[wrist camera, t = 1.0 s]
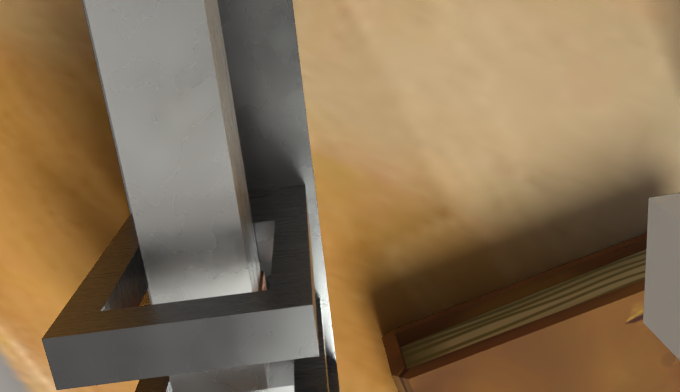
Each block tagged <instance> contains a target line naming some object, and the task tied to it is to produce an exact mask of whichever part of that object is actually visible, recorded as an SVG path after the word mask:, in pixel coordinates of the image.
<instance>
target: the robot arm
mask: <svg viewBox="0 0 680 392" xmlns="http://www.w3.org/2000/svg"><path fill="white" fill-rule="evenodd" d="M643 323H644V324H645V325H646V326H647V327H648V328H649V329H650V330H651V331H652V332H653V333H654V334H655V335H656V336H657V337H658V338H659V339H660V341H661V342H662V343H663V344H664V345H665V346H666V347H667V348H668V349H669V350H670V351H671V352H672V353H673V354H674V355H675V356H676V357H677V358H678V359H679V360H680V193H677V194H670V195H663V196H657V197H650V198H649V204H648V226H647V248H646V270H645V292H644V314H643Z"/></svg>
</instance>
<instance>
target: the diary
mask: <svg viewBox="0 0 680 392" xmlns="http://www.w3.org/2000/svg"><path fill="white" fill-rule="evenodd" d="M646 248H647V233H645V234H643V235H640V236H638V237H635V238H632V239H630V240H627V241H625V242H622V243H619V244H617V245H614V246H611V247H609V248H606V249H604V250H601V251H598V252H596V253H593V254H590V255H588V256H585V257H583V258H580V259H577V260H575V261H572V262H570V263H567V264H564V265H562V266H559V267H556V268H554V269H551V270H549V271H546V272H543V273H541V274H538V275H535V276H533V277H530V278H528V279H525V280H522V281H520V282H517V283H515V284H512V285H509V286H507V287H504V288H501V289H499V290H496V291H494V292H491V293H488V294H486V295H483V296H480V297H478V298H475V299H473V300H470V301H467V302H465V303H462V304H459V305H457V306H454V307H452V308H449V309H446V310H444V311H441V312H439V313H436V314H433V315H431V316H428V317H425V318H423V319H420V320H418V321H415V322H412V323H410V324H407V325H404V326H402V327H399V328H397V329H394V330H391V331H389V332H387V333H386V335H385V336H384V337H383V338H382V339H383V343H384V347H385V351H386V354H387V358H388V362H389V366H390V370H391V374H392V377H393V379H394V381H395V384H396V386H397V388H398V391H399V392H680V360H679V359H678V358H677V357H676V356H675V355H674V354H673V353H672V352H671V351H670V350H669V349H668V348H667V347H666V346H665V345H664V344H663V343H662V342H661V341H660V339H659V338H658V337H657V336H656V335H655V334H654V333H653V332H652V331H651V330H650V329H649V328H648V327H647V326H646V325H645V324H644V323H643V314H644V292H645V270H646Z"/></svg>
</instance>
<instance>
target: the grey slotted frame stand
mask: <svg viewBox="0 0 680 392" xmlns="http://www.w3.org/2000/svg"><path fill="white" fill-rule="evenodd" d="M82 2H83V7H84V11H85V16H86V20H87V24H88V29H89V33H90V38H91V42H92V47H93V51H94V55H95V60H96V64H97V69H98V73H99V77H100V82H101V86H102V91H103V95H104V100H105V104H106V108H107V113H108V117H109V122H110V126H111V130H112V135H113V139H114V144H115V148H116V153H117V157H118V161H119V166H120V170H121V175H122V179H123V183H124V188H125V192H126V197H127V201H128V206H129V210H130V214H131V215H130V216H129V218H128V219H127V220H126V222H125V223H124V225H123V226H122V227H121V229H120V230H119V232H118V233H117V234H116V236H115V237H114V239H113V240H112V241H111V243H110V244H109V246H108V247H107V248H106V250H105V251H104V253H103V254H102V255H101V257H100V258H99V260H98V261H97V262H96V264H95V265H94V267H93V268H92V269H91V271H90V272H89V274H88V275H87V276H86V278H85V279H84V281H83V282H82V283H81V285H80V286H79V288H78V289H77V290H76V292H75V293H74V295H73V296H72V297H71V299H70V300H69V302H68V303H67V304H66V306H65V307H64V309H63V310H62V311H61V313H60V314H59V316H58V317H57V318H56V320H55V321H54V323H53V324H52V325H51V327H50V328H49V330H48V331H47V332H46V334H45V335H44V337H43V338H42V342H43V345H44V349H45V352H46V356H47V359H48V362H49V366H50V369H51V372H52V376H53V379H54V383H55V386H56V389H57V390H62V389H69V388H77V387H85V386H93V385H100V384H108V383H116V382H123V381H131V380H139V379H140V380H139V383H138V385H137V388H136V391H135V392H172V387H171V383H170V379H169V376H170V375H177V374H185V373H193V372H200V371H208V370H216V369H223V368H231V367H239V366H247V365H254V364H262V363H270V367H269V383H268V389H264V390H256V391H249V392H340V388H339V379H338V371H337V363H336V355H335V347H334V339H333V330H332V322H331V314H330V306H329V298H328V289H327V281H326V273H325V265H324V257H323V248H322V240H321V232H320V224H319V216H318V208H317V199H316V191H315V183H314V175H313V167H312V158H311V150H310V142H309V134H308V126H307V118H306V109H305V101H304V93H303V85H302V77H301V68H300V60H299V52H298V44H297V36H296V28H295V19H294V11H293V3H292V0H217V2H218V8H219V14H220V21H221V27H222V33H223V39H224V46H225V52H226V58H227V65H228V71H229V77H230V83H231V90H232V96H233V102H234V109H235V115H236V121H237V127H238V134H239V140H240V146H241V152H242V159H243V165H244V171H245V178H246V184H247V190H248V196H249V203H250V209H251V215H252V222H253V228H254V234H255V240H256V247H257V253H258V259H259V265H260V271H264V274H265V281H266V287H267V290H264V291H256V292H249V293H241V294H233V295H225V296H217V297H209V298H201V299H193V300H185V301H177V302H169V303H161V304H153V303H152V299H151V294H150V290H149V285H148V281H147V276H146V272H145V268H144V263H143V259H142V254H141V250H140V245H139V241H138V236H137V232H136V228H135V223H134V219H133V214H132V210H131V205H130V201H129V196H128V192H127V188H126V183H125V179H124V174H123V170H122V165H121V161H120V157H119V152H118V148H117V143H116V139H115V134H114V130H113V125H112V121H111V117H110V112H109V108H108V103H107V99H106V94H105V90H104V85H103V81H102V77H101V72H100V68H99V63H98V59H97V54H96V50H95V45H94V41H93V37H92V32H91V28H90V23H89V19H88V14H87V10H86V6H85V1H84V0H82ZM146 290H148V294H149V298H150V303H151V305H145V306H139V305H140V303H141V301H142V299H143V297H144V295H145V293H146Z"/></svg>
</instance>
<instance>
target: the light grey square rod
mask: <svg viewBox="0 0 680 392" xmlns="http://www.w3.org/2000/svg"><path fill="white" fill-rule="evenodd" d="M84 1H85V6H86V10H87V14H88V19H89V23H90V28H91V32H92V37H93V41H94V45H95V50H96V54H97V59H98V63H99V68H100V72H101V77H102V81H103V85H104V90H105V94H106V99H107V103H108V108H109V112H110V117H111V121H112V125H113V130H114V134H115V139H116V143H117V148H118V152H119V157H120V161H121V165H122V170H123V174H124V179H125V183H126V188H127V192H128V196H129V201H130V205H131V210H132V214H133V219H134V223H135V228H136V232H137V236H138V241H139V245H140V250H141V254H142V259H143V263H144V268H145V272H146V276H147V281H148V285H149V290H150V294H151V299H152V303H153V304H161V303H169V302H177V301H185V300H193V299H201V298H209V297H217V296H225V295H233V294H241V293H249V292H256V291H264V290H267V287H266V281H265V274H264V271H260V265H259V259H258V253H257V247H256V240H255V234H254V228H253V222H252V215H251V209H250V203H249V196H248V190H247V184H246V178H245V171H244V165H243V159H242V152H241V146H240V140H239V134H238V127H237V121H236V115H235V109H234V102H233V96H232V90H231V83H230V77H229V71H228V65H227V58H226V52H225V46H224V39H223V33H222V27H221V21H220V14H219V8H218V2H217V0H84ZM269 367H270V363H262V364H254V365H247V366H239V367H231V368H223V369H216V370H208V371H200V372H193V373H185V374H177V375H170V376H169V379H170V383H171V387H172V392H249V391H256V390H264V389H268V383H269Z"/></svg>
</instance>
